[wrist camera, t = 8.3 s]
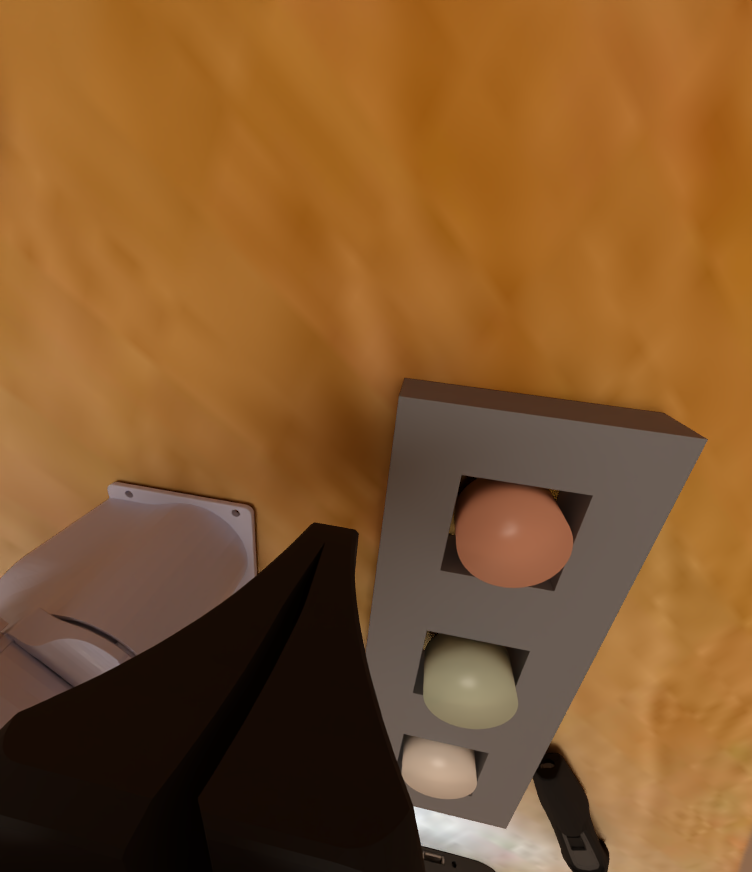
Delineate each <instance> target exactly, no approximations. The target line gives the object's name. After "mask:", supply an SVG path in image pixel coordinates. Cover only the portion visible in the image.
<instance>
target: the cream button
mask: <svg viewBox="0 0 752 872" xmlns="http://www.w3.org/2000/svg"><path fill="white" fill-rule="evenodd" d="M402 777H403V779H404V781H405V782H406V783H407V784H408V785H409V786H410V787H411V788H413V789H414V790H416V791H417V792H419V793H422V794H424V795H427V796H430V797H434V798H440V799H458V798H462V797H465V796H468V795H469V794H471V793H472V792H473V791H474V790H475V789H476V786H477V778H476V766H475V753H474V750H472V749H468V748H463V747H459V746H454V745H450V744H446V743H441V742H437V741H432V740H428V739H424V738H419V737H415V736H410V735H406V734H404V744H403V759H402Z"/></svg>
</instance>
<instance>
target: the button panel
mask: <svg viewBox="0 0 752 872" xmlns="http://www.w3.org/2000/svg"><path fill="white" fill-rule="evenodd" d="M707 440H708V439H706V438H705V437H703V436H701V435H700V434H698V433H696V432H695V431H693V430H691V429H690V428H688V427H686V426H685V425H683V424H681V423H680V422H678V421H676V420H675V419H673V418H671V417H670V416H668V415H666V414H665V413H660V412H652V411H645V410H637V409H630V408H623V407H615V406H608V405H600V404H593V403H586V402H578V401H571V400H563V399H556V398H549V397H541V396H534V395H526V394H519V393H512V392H504V391H497V390H490V389H482V388H475V387H467V386H460V385H453V384H445V383H438V382H430V381H423V380H416V379H408V378H404V382H403V385H402V388H401V391H400V395H399V400H398V408H397V416H396V423H395V431H394V439H393V447H392V454H391V462H390V470H389V477H388V485H387V493H386V500H385V508H384V516H383V523H382V531H381V539H380V547H379V554H378V562H377V570H376V577H375V585H374V593H373V600H372V608H371V616H370V624H369V631H368V639H367V647H366V658H367V662H368V666H369V670H370V675H371V679H372V682H373V686H374V689H375V693H376V696H377V700H378V703H379V707H380V710H381V714H382V717H383V721H384V724H385V727H386V730H387V733H388V736H389V739H390V742H391V745H392V748H393V751H394V754H395V757H396V760H397V763H398V765H399V768H400V771H401V774H402V759H403V744H404V734H406V735H410V736H415V737H419V738H424V739H428V740H432V741H437V742H441V743H446V744H450V745H454V746H459V747H463V748H468V749H472V750H474V753H475V766H476V778H477V786H476V789H475V790H474V791H473V792H472V793H471V794H469V795H468V796H465V797H462V798H458V799H440V798H434V797H430V796H427V795H424V794H422V793H419V792H417V791H416V790H414V789H413V788H411V787H410V786H409V785H408V784H407V783H406V782H405V781H404V782H405V785H406V787H407V790H408V793H409V795H410V798H411V801H412V804H413V806H415V807H419V808H423V809H427V810H432V811H436V812H440V813H444V814H448V815H452V816H456V817H460V818H464V819H468V820H472V821H476V822H480V823H484V824H488V825H493V826H497V827H501V828H505V829H506V828H507V826H508V824H509V822H510V820H511V818H512V816H513V814H514V812H515V810H516V808H517V806H518V804H519V803H520V801H521V799H522V797H523V795H524V793H525V791H526V789H527V787H528V785H529V783H530V781H531V779H532V777H533V776H534V774H535V772H536V770H537V768H538V766H539V764H540V762H541V760H542V758H543V756H544V754H545V752H546V750H547V749H548V747H549V745H550V743H551V741H552V739H553V737H554V735H555V733H556V731H557V729H558V727H559V725H560V723H561V722H562V720H563V718H564V716H565V714H566V712H567V710H568V708H569V706H570V704H571V702H572V700H573V698H574V696H575V695H576V693H577V691H578V689H579V687H580V685H581V683H582V681H583V679H584V677H585V675H586V673H587V671H588V670H589V668H590V666H591V664H592V662H593V660H594V658H595V656H596V654H597V652H598V650H599V648H600V646H601V644H602V643H603V641H604V639H605V637H606V635H607V633H608V631H609V629H610V627H611V625H612V623H613V621H614V619H615V617H616V616H617V614H618V612H619V610H620V608H621V606H622V604H623V602H624V600H625V598H626V596H627V594H628V592H629V590H630V589H631V587H632V585H633V583H634V581H635V579H636V577H637V575H638V573H639V571H640V569H641V567H642V565H643V563H644V562H645V560H646V558H647V556H648V554H649V552H650V550H651V548H652V546H653V544H654V542H655V540H656V538H657V536H658V535H659V533H660V531H661V529H662V527H663V525H664V523H665V521H666V519H667V517H668V515H669V513H670V511H671V509H672V508H673V506H674V504H675V502H676V500H677V498H678V496H679V494H680V492H681V490H682V488H683V486H684V484H685V482H686V481H687V479H688V477H689V475H690V473H691V471H692V469H693V467H694V465H695V463H696V461H697V459H698V457H699V456H700V454H701V452H702V450H703V448H704V446H705V444H706V442H707ZM461 475H466V476H472V477H478V478H485V479H491V480H497V481H504V482H510V483H516V484H523V485H529V486H535V487H542V488H548V489H554V490H560V492H559V495H558V498H557V501H556V502H557V504H558V506H559V508H560V510H561V512H562V514H563V515H564V517H565V519H566V521H567V523H568V525H569V527H570V529H571V532H572V536H573V549H572V553H571V556H570V558H569V560H568V562H567V563H566V564H565V566H564V567H563V568H562V569H561V570H560V571H559V572H558V573H557V574H556V575H554V576H553V577H551V578H550V579H548V580H546V581H544V582H542V583H539V584H536V585H532V586H528V587H522V588H506V587H499V586H495V585H491V584H488V583H486V582H484V581H482V580H480V579H478V578H476V577H475V576H474V575H472V574H471V573H470V572H469V571H468V570H467V569H466V568H465V567H464V565H463V564H462V562H461V560H460V559H459V556H458V553H457V547H456V536H455V535H449V534H448V533H449V529H450V524H451V520H452V516H453V511H454V507H455V502H456V498H457V493H458V489H459V484H460V480H461ZM427 631H432V632H437V633H442V634H447V635H452V636H457V637H462V638H467V639H472V640H477V641H482V642H487V643H492V644H497V645H502V646H505V648H506V649H507V651H508V653H509V657H510V662H511V667H512V672H513V677H514V682H515V687H516V693H517V698H518V708H517V711H516V713H515V715H514V716H513V717H512V718H511V719H510V720H509V721H507V722H506V723H504V724H502V725H499V726H496V727H493V728H487V729H467V728H461V727H457V726H454V725H451V724H449V723H446V722H444V721H442V720H441V719H439V718H438V717H436V716H435V715H434V714H433V713H432V712H431V711H430V710H429V709H428V708H427V706H426V704H425V702H424V698H423V685H424V653H425V650H422V649H423V645H424V640H425V636H426V632H427Z"/></svg>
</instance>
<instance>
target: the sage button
mask: <svg viewBox="0 0 752 872" xmlns="http://www.w3.org/2000/svg"><path fill="white" fill-rule="evenodd" d="M423 698H424V702H425V704H426V706H427V708H428V709H429V710H430V711H431V712H432V713H433V714H434V715H435V716H436V717H438V718H439V719H441V720H442V721H444V722H446V723H449V724H451V725H454V726H457V727H461V728H467V729H487V728H493V727H496V726H499V725H502V724H504V723H506V722H507V721H509V720H510V719H511V718H512V717H513V716H514V715H515V713H516V711H517V708H518V698H517V693H516V687H515V682H514V677H513V672H512V667H511V662H510V657H509V653H508V651H507V649H506V648H505V646H502V645H497V644H492V643H487V642H482V641H477V640H472V639H467V638H462V637H457V636H452V635H447V634H442V633H440V634H438V635H437V636H435V637H434V638H432V639H431V640H430V641H429V643H428V644H427V646H426V648H425V653H424V685H423Z"/></svg>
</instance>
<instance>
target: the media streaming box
mask: <svg viewBox="0 0 752 872" xmlns="http://www.w3.org/2000/svg"><path fill="white" fill-rule="evenodd" d="M421 848H422V854H423V859H424V864H425V871H426V872H495V871H494V870H492V869H491V868H489V867H488V866H486V865H484V864H482V863H480V862H477V861H474V860H470V859H467V858H463V857H460V856H456V855H452V854H449V853H445V852H441V851H437V850H433V849H429V848H425V847H421Z"/></svg>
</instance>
